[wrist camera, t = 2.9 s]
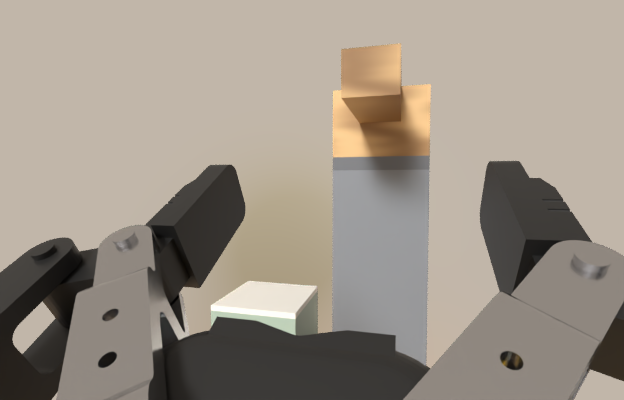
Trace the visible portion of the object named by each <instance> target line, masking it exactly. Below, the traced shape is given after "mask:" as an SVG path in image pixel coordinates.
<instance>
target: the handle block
mask: <svg viewBox="0 0 624 400" xmlns="http://www.w3.org/2000/svg"><path fill="white" fill-rule="evenodd" d="M430 92H431V85H430V84H427V85H412V86H401V44H391V45H381V46H370V47H359V48H349V49H342V50H341V90H338V91H333V157H376V156H429V155H430Z"/></svg>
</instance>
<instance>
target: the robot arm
mask: <svg viewBox="0 0 624 400" xmlns="http://www.w3.org/2000/svg"><path fill="white" fill-rule="evenodd" d="M244 216H245V202H244V198H243V195H242V191H241V187H240V184H239V180H238V176H237V173H236V170H235V168H234V167H233V166H232V165H210V166H208V167H207V168H206V169H205V170H204V171H203V172H202V173H201V175H199V177H197V179H196V180H194V181H192V182H191V183H189V184H187V185H185V186H184V187H183V188H182V189H181V190H180V191H179V192H178V193H177V194H176V195H175V197H173V198H172V199H171V200H170V201H169V202H168V204H166V205H165V206H164V207H163V208H162V209H161V210H160V211H159V212H158V213H157V214H156V215H155V216H154V217H153V218H152V219H151V220H150V221H149V222H148V223H147V224H146V225H135V226H129V227H126V228H123V229H121V230H118V231H116V232H115V233H113V234H111V235H109V236H108V237H107V238H105V240H103V241H102V243H101V244H100V246H99V248H97V249H91V250H86V251H81V252H79V250H78V249H77V247H76V246H75V244H74V243H73V241H72V240H71V239H69V238H57V239H53V240H49V241H46V242H44V243H41V244H39V245H37V246H35V247H33V248H32V249H30V250H28V251H27V252H26V253H24V254H23V255H22V256H21V257H19V258H18V259H17V260H16V261H14V262H13V263H12V264H11V265H9V266H8V267H7V268H6V269H4V270H3V271H2V272H1V273H0V400H52V398H53V397H54V396H55V394H56V393H57V392H58V394H57V399H56V400H574V398H575V396H576V395H577V393H578V391H579V389H580V387H581V385H582V383H583V381H584V380H585V378H586V376H587V374H588V373H589V371H590V369H591V370H594V371H597V372H600V373H602V374H605V375H608V376H611V377H614V378H616V379H619V380H622V381H624V256H623V255H621V254H619V253H618V252H616V251H614V250H612V249H610V248H608V247H605V246H603V245H599V244H596V243H592V241H591V240H590V238H589V237H588V235H587V234H586V232H585V231H584V229H583V228H582V226H581V225H580V224H579V222H578V221H577V219H576V218H575V216H574V215H573V213H572V212H570V209H569V207H568V206H567V204H566V203H565V202H563V198H562V197H561V196H560V194H559V193H558V191H557V190H556V188H555V187H553V186H551V185H550V184H548V183H547V182H545V181H544V180H542V179H541V178H529V176H528V175H527V173H526V172H525V170H524V168H523V166H522V165H521V163H520V162H519V161H490V162H489V163H488V165H487V169H486V175H485V182H484V188H483V195H482V201H481V208H480V223H481V229H482V232H483V236H484V239H485V243H486V246H487V249H488V253H489V256H490V259H491V263H492V266H493V270H494V273H495V276H496V280H497V284H498V287H499V290H500V292H499V293H498V294H497V295H496V296H495V297H494V298H493V299H492V300H491V301H490V302H489V303H488V305H487V306H486V307H485V308H484V309H483V310H482V311H481V312H480V313H479V315H478V316H477V317H476V318H475V319H474V320H473V321H472V323H471V324H470V325H469V326H468V327H467V328H466V329H465V330H464V332H463V333H462V334H461V335H460V336H459V337H458V338H457V339H456V341H455V342H454V343H453V344H452V345H451V346H450V347H449V348H448V350H447V351H446V352H445V353H444V354H443V355H442V356H441V357H440V359H439V360H438V361H437V362H436V363H435V364H434V365H433V366H432V368H431V369H430V368H429V367H427V366H426V365H424V364H422V363H421V362H419V361H418V360H416V359H414V358H412V357H410V356H408V355H406V354H403V353H401V352H398V351H396V335H388V334H379V333H369V332H360V331H350V330H344V331H336V332H328V333H319V334H311V335H302V336H298V335H293V334H291V333H288V332H285V331H283V330H280V329H277V328H275V327H272V326H270V325H267V324H264V323H262V322H259V321H256V320H246V319H237V318H227V317H218V316H217V318H216V319H215V321H214V323H213V325H212V327H211V329H210V331H204V332H201V333H196V334H193V335H190V334H189V329H188V323H187V317H186V312H185V306H184V301H183V297H182V295H181V293H180V291H181V289H182V288H183V287H194V288H200V287H201V285H202V284H203V282H204V281H205V279H206V277H207V276H208V274H209V273H210V271H211V270H212V268H213V266H214V265H215V263H216V262H217V260H218V259H219V257H220V256H221V254H222V252H223V251H224V249H225V248H226V246H227V244H228V243H229V241H230V240H231V238H232V237H233V235H234V233H235V232H236V230H237V229H238V227H239V226H240V224H241V223H242V221H243V219H244ZM42 301H43V302H44V304H45V305H46V306H47V307H48V309H49V310H50V311H51V313H52V314H53V315H54V316H55V318H56V319H55V320H54V321H53V322H52V323H51V324H50V325H49V326H48V328H47V329H46V330H45V331H44V332H43V333H42V334H41V335H40V336H39V337H38V338H37V339H36V340H35V341H34V343H33V344H32V345H31V346H30V347H29V348H28V349H27V350H26V351H25V352H24V353H23V354H21V353H20V352H19V351H18V350H17V349H16V348H15V346H14V345H13V341H12V337H13V333H14V331H15V329H16V327H17V326H18V325H19V323H20V322H22V320H24V318H26V316H28V315H29V314H30V313H31V312H32V311H33V309H35V308H36V307H37V306H38V305H39V304H40V303H41V302H42Z"/></svg>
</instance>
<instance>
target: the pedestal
mask: <svg viewBox="0 0 624 400" xmlns="http://www.w3.org/2000/svg"><path fill="white" fill-rule="evenodd" d="M317 295H318V287H317V286H307V285H295V284H282V283H269V282H255V281H248V282H246V283H245V284H243V285H242V286H240V287H238V288H237V289H235V290H234V291H232V292H231V293H229V294H228V295H226V296H224V297H223V298H221V299H220V300H218V301H217V302H215V303H214V304H212V305H211V327H212V325H213V323H214V321H215V319H216V318H217V316H218V317H227V318H237V319H246V320H256V321H259V322H262V323H264V324H267V325H270V326H272V327H275V328H277V329H280V330H283V331H285V332H288V333H291V334H293V335H298V336H302V335H311V334H318V326H317V325H318V310H317V309H318V296H317Z"/></svg>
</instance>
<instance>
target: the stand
mask: <svg viewBox="0 0 624 400" xmlns="http://www.w3.org/2000/svg"><path fill="white" fill-rule="evenodd" d="M429 157H430V155H429V156H376V157H333V332H336V331H344V330H350V331H360V332H369V333H379V334H388V335H396V351H398V352H401V353H403V354H406V355H408V356H410V357H412V358H414V359H416V360H418V361H419V362H421V363H422V364H424V365H426V344H427V340H426V339H427V281H428V280H427V279H428V219H429Z"/></svg>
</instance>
